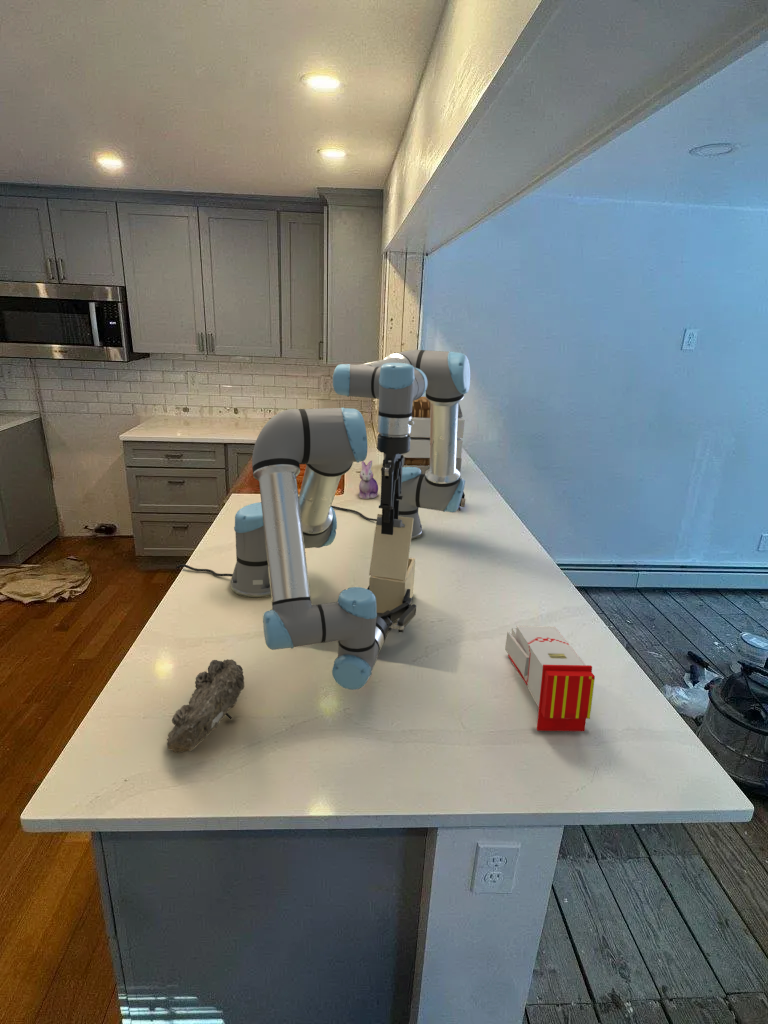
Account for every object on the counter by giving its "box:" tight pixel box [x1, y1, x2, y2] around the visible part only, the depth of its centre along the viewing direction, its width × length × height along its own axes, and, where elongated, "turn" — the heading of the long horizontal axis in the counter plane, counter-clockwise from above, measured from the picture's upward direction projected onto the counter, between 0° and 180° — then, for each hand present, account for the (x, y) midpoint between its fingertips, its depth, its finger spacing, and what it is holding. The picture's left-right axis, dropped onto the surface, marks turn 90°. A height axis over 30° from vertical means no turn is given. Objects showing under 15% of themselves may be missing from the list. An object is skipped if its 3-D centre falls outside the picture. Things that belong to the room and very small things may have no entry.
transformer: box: [383, 396, 465, 475], centre depth 268 cm, size 34×33×41 cm
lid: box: [368, 513, 414, 580], centre depth 137 cm, size 16×9×9 cm
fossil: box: [166, 658, 245, 754], centre depth 106 cm, size 22×10×15 cm
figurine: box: [358, 460, 379, 500], centre depth 236 cm, size 9×10×15 cm
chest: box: [368, 557, 416, 622], centre depth 149 cm, size 14×9×11 cm, turn 167°
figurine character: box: [457, 490, 466, 511], centre depth 229 cm, size 7×8×15 cm
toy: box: [504, 625, 596, 732], centre depth 119 cm, size 12×13×30 cm
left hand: (389, 590), depth 146 cm, fingers closed on chest, 9 cm apart
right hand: (389, 529), depth 136 cm, fingers open, 5 cm apart
